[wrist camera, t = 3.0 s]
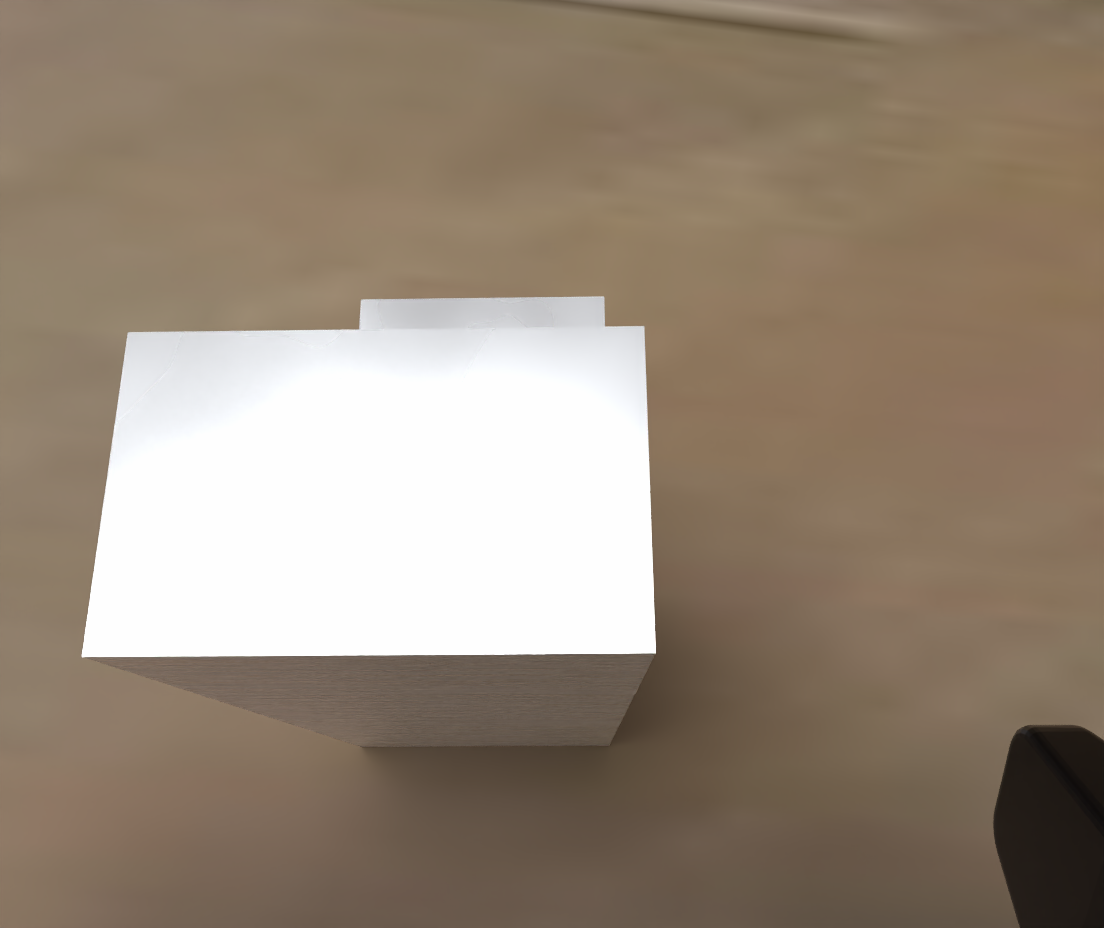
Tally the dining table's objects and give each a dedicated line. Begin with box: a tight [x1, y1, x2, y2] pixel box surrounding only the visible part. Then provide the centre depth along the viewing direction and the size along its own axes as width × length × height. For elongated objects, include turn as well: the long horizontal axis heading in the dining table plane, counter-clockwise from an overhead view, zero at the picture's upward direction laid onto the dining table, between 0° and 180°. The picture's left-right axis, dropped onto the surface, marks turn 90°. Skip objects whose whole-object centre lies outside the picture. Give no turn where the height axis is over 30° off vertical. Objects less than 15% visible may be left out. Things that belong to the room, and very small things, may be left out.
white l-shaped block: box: [82, 297, 656, 747], centre depth 13 cm, size 7×4×10 cm, turn 0°
